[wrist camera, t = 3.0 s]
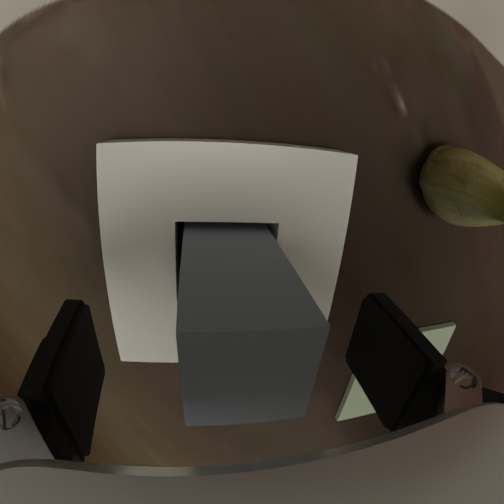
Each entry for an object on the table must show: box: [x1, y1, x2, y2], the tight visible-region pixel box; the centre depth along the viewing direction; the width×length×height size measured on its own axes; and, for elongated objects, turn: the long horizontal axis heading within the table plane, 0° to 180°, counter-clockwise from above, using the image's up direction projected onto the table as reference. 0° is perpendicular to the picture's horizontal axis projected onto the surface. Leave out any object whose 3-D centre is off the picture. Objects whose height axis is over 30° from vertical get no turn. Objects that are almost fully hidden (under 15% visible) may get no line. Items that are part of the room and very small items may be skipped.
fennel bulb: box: [419, 145, 504, 227], centre depth 13 cm, size 6×5×12 cm
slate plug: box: [176, 222, 330, 426], centre depth 13 cm, size 4×4×10 cm
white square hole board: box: [96, 138, 358, 362], centre depth 16 cm, size 12×12×2 cm
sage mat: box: [335, 322, 456, 421], centre depth 25 cm, size 10×10×1 cm
